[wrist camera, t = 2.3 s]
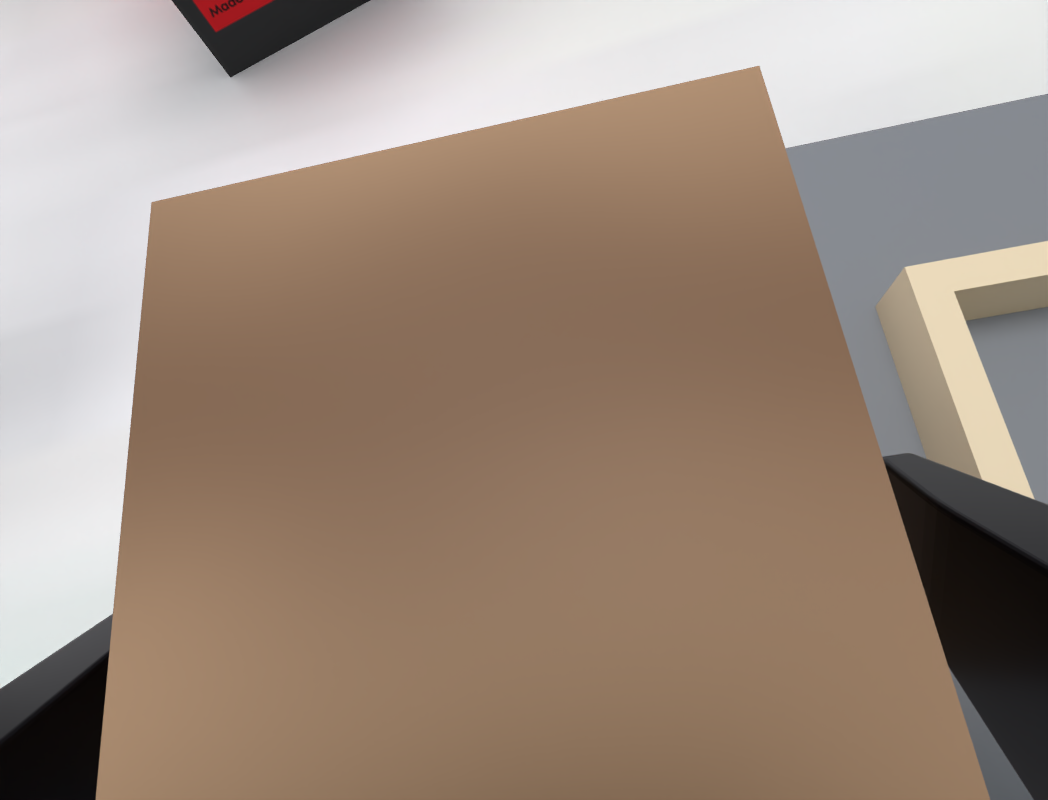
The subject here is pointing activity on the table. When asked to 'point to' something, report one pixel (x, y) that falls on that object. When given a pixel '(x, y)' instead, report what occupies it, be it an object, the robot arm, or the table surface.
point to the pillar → (516, 485)
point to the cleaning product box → (257, 25)
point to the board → (945, 300)
